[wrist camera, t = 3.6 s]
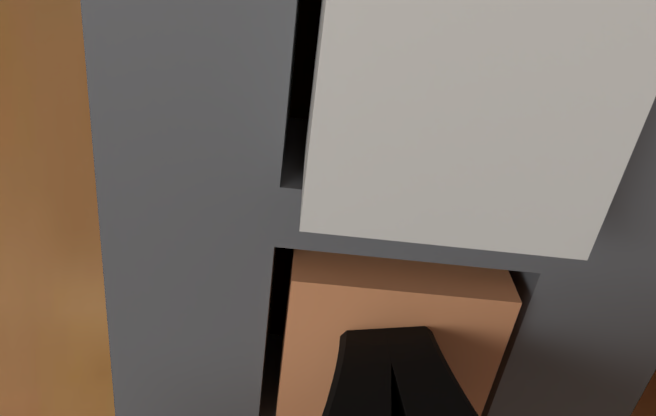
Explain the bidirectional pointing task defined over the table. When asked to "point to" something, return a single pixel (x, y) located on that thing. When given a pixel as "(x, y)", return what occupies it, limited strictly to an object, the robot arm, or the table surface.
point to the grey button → (475, 120)
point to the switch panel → (284, 223)
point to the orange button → (390, 319)
